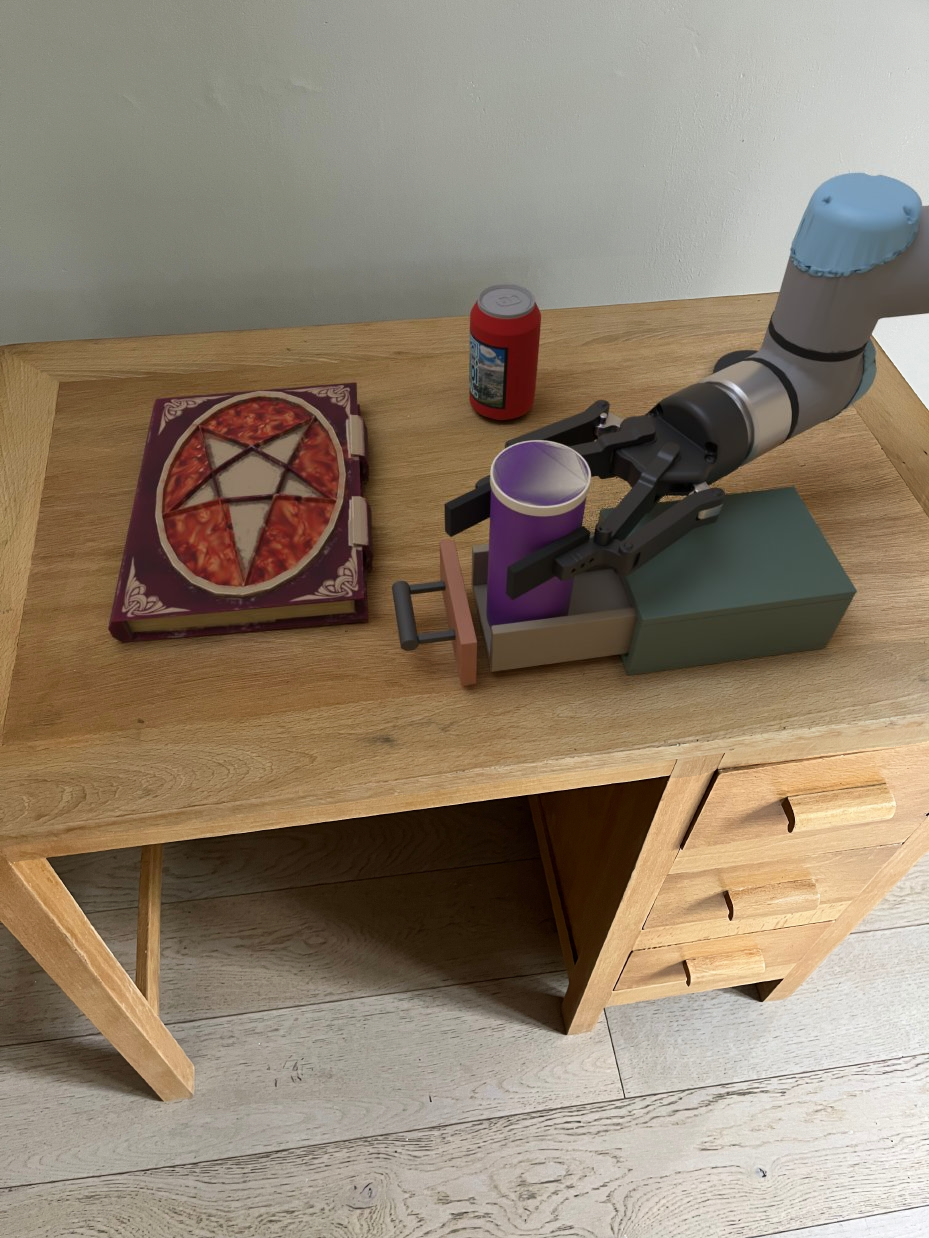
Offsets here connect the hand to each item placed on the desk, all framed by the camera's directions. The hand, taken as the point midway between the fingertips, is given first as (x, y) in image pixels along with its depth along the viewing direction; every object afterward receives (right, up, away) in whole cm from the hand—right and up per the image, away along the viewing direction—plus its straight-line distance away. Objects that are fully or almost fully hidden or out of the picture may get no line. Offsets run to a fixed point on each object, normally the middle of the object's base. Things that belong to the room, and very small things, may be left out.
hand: (478, 551), depth 59 cm
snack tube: (+4, -4, +10) cm, 12 cm away
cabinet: (+19, -4, +13) cm, 23 cm away
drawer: (+3, -5, +11) cm, 12 cm away
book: (-20, +5, +20) cm, 29 cm away
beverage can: (+3, +17, +30) cm, 35 cm away
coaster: (+30, +21, +33) cm, 49 cm away
